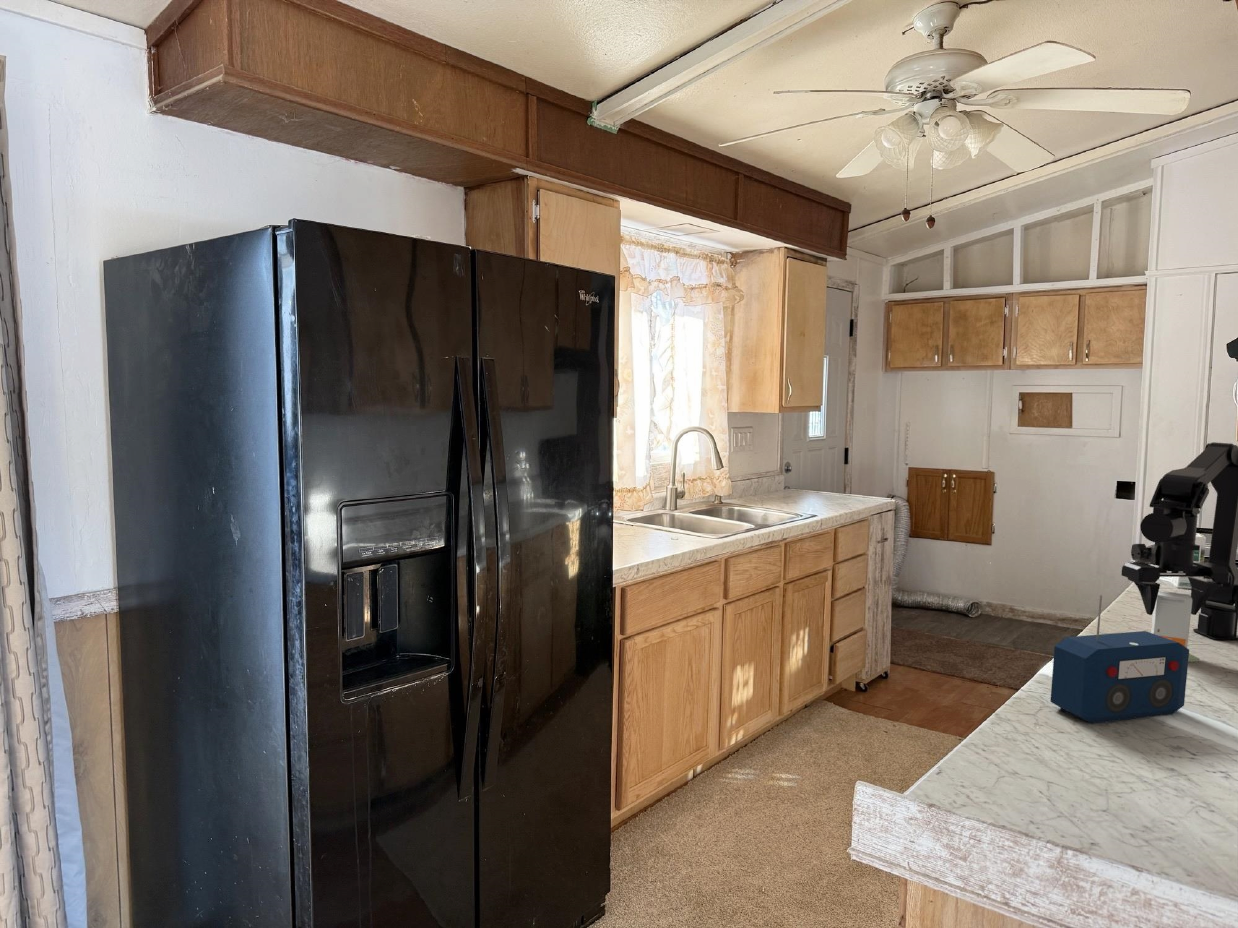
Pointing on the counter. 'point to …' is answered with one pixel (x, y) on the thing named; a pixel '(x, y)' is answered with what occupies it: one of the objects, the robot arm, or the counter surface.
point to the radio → (1119, 675)
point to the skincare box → (1172, 616)
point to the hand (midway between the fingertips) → (1171, 614)
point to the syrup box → (1198, 558)
